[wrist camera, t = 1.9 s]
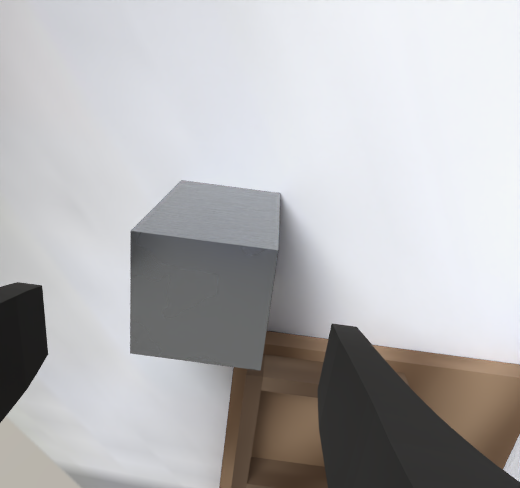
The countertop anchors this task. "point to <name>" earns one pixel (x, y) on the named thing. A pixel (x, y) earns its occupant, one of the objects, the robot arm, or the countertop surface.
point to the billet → (205, 275)
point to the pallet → (306, 409)
